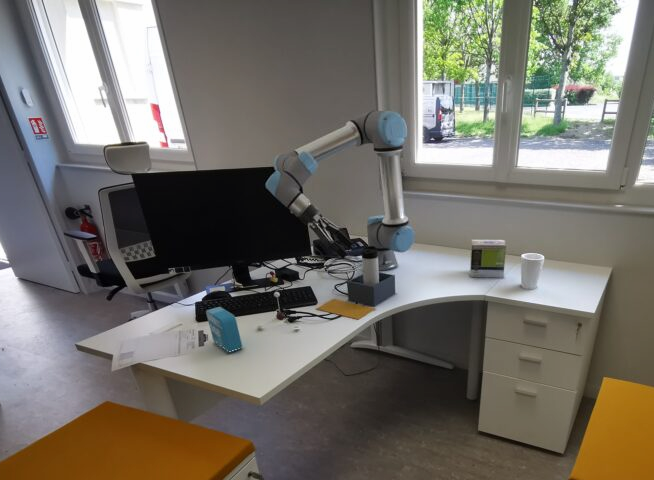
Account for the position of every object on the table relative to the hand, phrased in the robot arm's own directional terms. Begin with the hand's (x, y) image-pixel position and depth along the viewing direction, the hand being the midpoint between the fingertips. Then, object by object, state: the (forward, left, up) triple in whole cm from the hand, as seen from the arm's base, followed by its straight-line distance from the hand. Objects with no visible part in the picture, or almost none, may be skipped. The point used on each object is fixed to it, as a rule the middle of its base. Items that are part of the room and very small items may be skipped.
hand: (348, 251), depth 175 cm
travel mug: (+7, +4, -19) cm, 21 cm away
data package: (-10, -55, -19) cm, 59 cm away
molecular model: (-7, -36, -19) cm, 41 cm away
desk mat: (+5, -12, -19) cm, 23 cm away
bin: (+7, +4, -19) cm, 20 cm away
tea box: (+37, +53, -19) cm, 67 cm away
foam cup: (+59, +47, -19) cm, 78 cm away
